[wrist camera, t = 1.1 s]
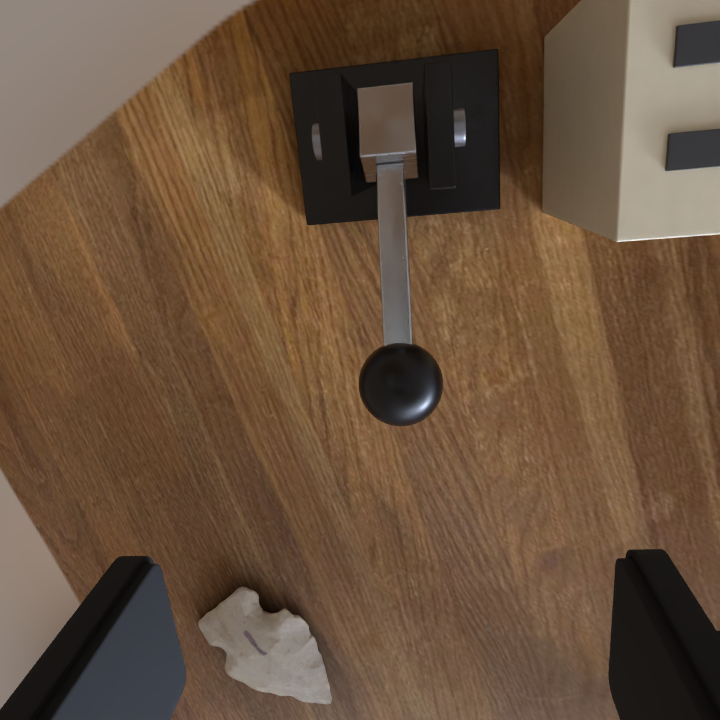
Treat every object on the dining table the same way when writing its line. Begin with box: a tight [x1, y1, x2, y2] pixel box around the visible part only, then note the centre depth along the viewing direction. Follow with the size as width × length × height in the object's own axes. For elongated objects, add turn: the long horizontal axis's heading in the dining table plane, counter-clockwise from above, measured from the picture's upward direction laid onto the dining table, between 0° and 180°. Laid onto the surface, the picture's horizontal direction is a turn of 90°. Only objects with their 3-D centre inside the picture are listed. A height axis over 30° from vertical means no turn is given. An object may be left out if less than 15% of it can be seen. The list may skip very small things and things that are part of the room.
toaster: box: [542, 0, 720, 242], centre depth 24 cm, size 9×12×13 cm
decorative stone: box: [198, 586, 332, 704], centre depth 44 cm, size 8×12×3 cm
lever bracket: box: [289, 49, 500, 225], centre depth 27 cm, size 8×11×12 cm
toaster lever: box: [356, 83, 443, 426], centre depth 22 cm, size 13×3×3 cm, turn 5°
